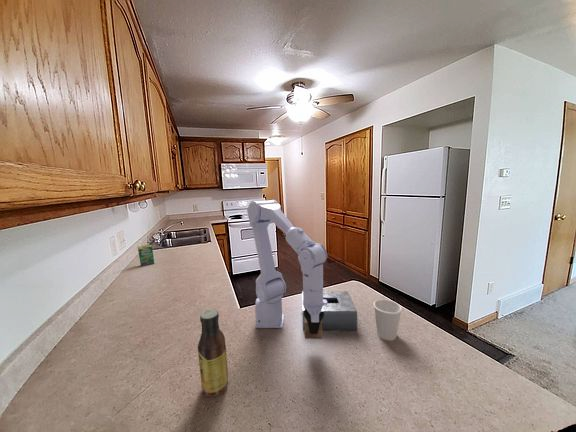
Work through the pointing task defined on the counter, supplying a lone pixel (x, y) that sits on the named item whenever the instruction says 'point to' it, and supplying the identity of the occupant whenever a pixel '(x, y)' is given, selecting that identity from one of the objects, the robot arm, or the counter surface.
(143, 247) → the coffee box
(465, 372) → the counter surface
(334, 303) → the money box
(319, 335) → the brown block
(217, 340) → the sauce bottle
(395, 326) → the dixie cup
